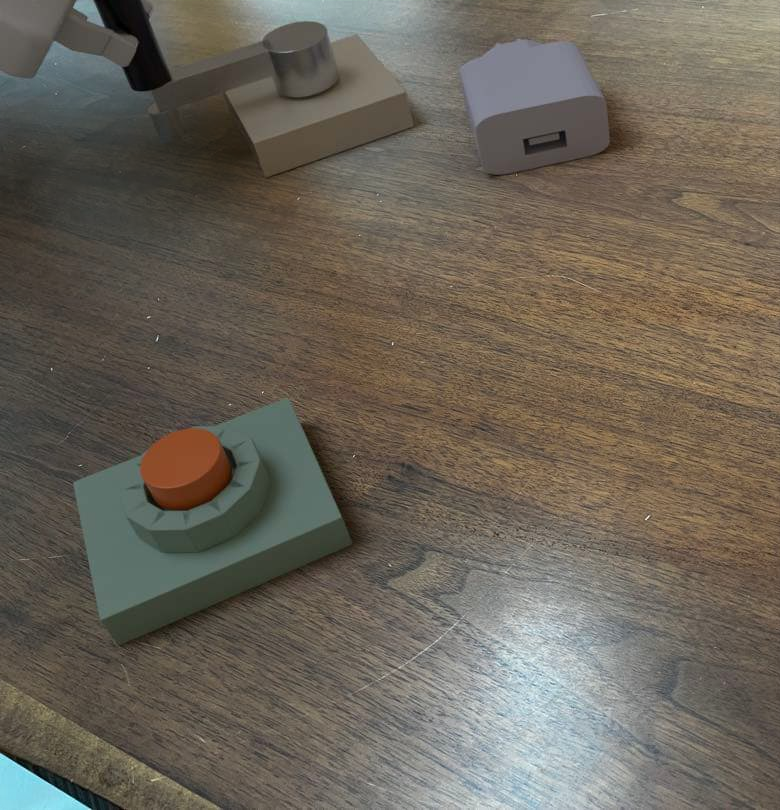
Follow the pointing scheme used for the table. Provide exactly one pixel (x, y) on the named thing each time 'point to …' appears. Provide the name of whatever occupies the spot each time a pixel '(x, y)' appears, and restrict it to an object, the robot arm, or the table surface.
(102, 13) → the crank handle
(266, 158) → the crank base
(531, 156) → the charger
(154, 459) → the button
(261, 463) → the button box
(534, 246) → the table surface
